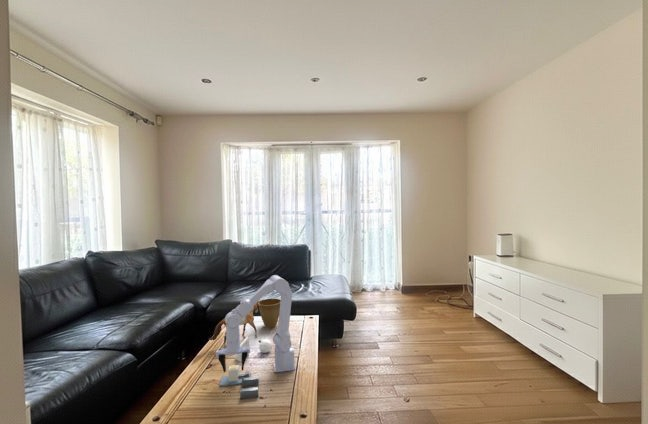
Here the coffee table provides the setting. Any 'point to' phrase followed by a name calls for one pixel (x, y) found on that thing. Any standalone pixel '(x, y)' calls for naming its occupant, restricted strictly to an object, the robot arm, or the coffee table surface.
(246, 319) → the horse figurine
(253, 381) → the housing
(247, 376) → the wall lamp
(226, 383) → the mat
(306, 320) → the coffee table surface
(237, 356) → the white wedge bracket
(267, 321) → the plant pot
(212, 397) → the coffee table surface
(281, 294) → the robot arm
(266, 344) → the ornament
